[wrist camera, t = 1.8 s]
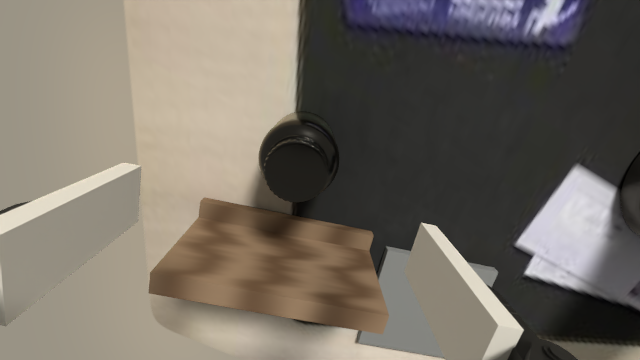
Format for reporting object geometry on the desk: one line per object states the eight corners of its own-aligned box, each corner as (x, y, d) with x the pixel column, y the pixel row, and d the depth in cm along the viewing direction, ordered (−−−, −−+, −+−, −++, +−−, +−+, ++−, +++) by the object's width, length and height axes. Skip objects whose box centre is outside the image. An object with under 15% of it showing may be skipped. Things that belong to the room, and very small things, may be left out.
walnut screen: (371, 231, 38) (395, 296, 26) (359, 273, 39) (376, 352, 28) (204, 197, 36) (151, 250, 25) (198, 243, 38) (147, 313, 26)
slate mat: (493, 267, 39) (498, 272, 38) (455, 354, 43) (458, 360, 42) (386, 246, 38) (387, 250, 37) (357, 337, 42) (358, 343, 41)
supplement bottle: (308, 184, 36) (303, 232, 24) (259, 147, 34) (230, 179, 23) (347, 138, 34) (362, 165, 23) (297, 97, 33) (287, 104, 22)
